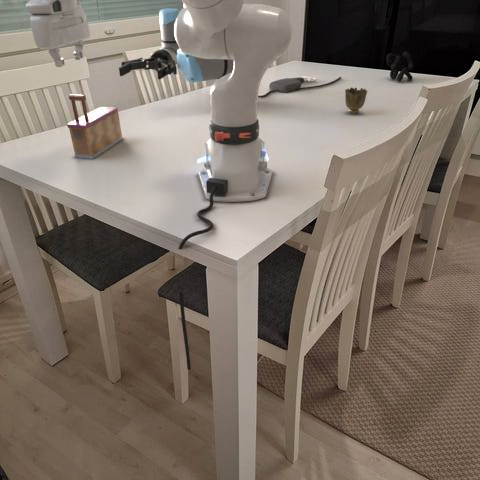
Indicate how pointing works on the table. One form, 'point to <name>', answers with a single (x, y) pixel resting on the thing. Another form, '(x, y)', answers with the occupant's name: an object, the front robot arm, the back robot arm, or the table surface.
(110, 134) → the chest
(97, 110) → the lid
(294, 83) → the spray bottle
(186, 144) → the table surface
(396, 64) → the squiggle
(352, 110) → the cup
